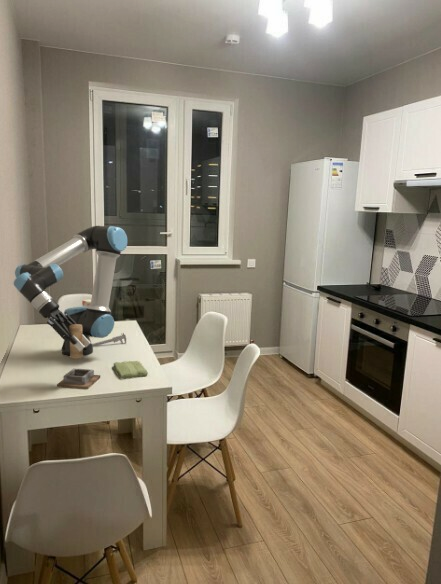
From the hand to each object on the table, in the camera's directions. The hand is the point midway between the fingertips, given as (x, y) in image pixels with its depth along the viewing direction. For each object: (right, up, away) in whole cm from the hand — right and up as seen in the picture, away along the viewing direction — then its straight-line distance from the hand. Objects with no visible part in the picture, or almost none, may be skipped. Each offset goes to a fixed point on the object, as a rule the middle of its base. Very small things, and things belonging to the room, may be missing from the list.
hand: (85, 347), depth 176 cm
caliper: (-6, -7, +56) cm, 56 cm away
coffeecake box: (-18, -2, +77) cm, 79 cm away
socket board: (-4, -15, +4) cm, 16 cm away
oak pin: (-4, -4, +1) cm, 6 cm away
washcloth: (+14, -14, +18) cm, 27 cm away
